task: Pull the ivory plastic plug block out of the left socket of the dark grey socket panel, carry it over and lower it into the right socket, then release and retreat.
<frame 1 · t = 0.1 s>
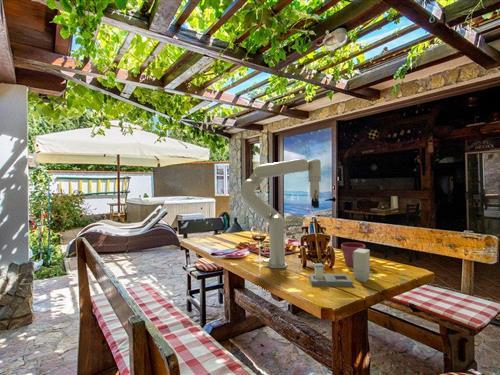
hand: (315, 207, 183), 37 cm above the table, tool pointing down, fingers open, 9 cm apart
plug: (319, 281, 154), point 1 cm above the table, touching socket panel
plant pot: (353, 265, 184), on the table
socket panel: (329, 283, 153), on the table
skincare box: (361, 279, 158), on the table
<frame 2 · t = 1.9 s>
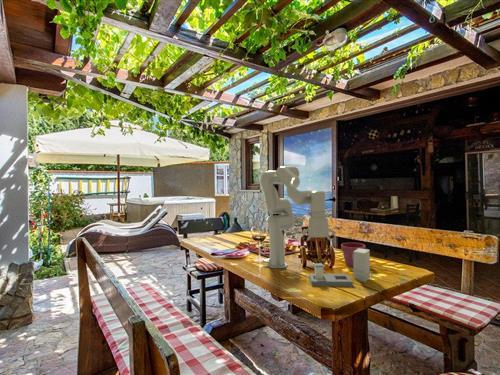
hand: (318, 247, 153), 18 cm above the table, tool pointing down, fingers open, 9 cm apart
nothing on the table moved.
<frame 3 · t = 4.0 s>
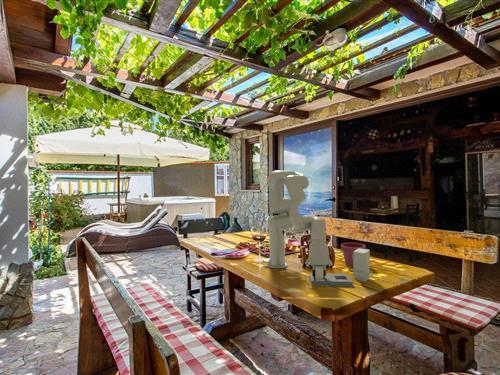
hand: (319, 276, 154), 3 cm above the table, tool pointing down, fingers closed on plug, 4 cm apart
plug: (319, 281, 154), point 1 cm above the table, touching gripper, socket panel
everything else where it was.
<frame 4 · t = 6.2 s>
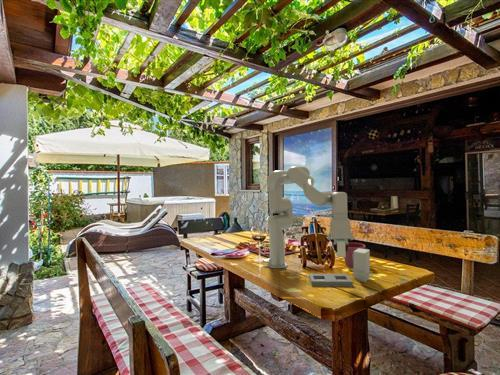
hand: (340, 251, 152), 17 cm above the table, tool pointing down, fingers closed on plug, 4 cm apart
plug: (340, 256, 152), point 14 cm above the table, touching gripper
everything else where it was.
when the fingers open (4 cm above the table, at t = 8.3 s): plug stays where it is, resting on socket panel.
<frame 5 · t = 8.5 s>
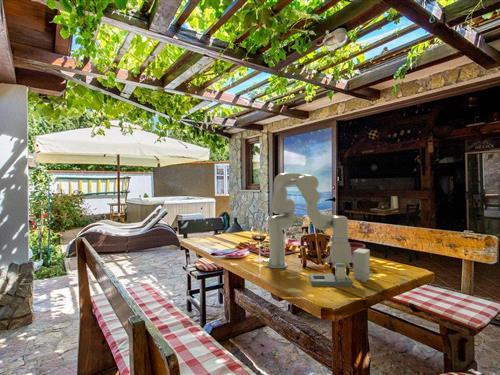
hand: (340, 274, 152), 5 cm above the table, tool pointing down, fingers open, 6 cm apart
plug: (340, 281, 153), point 1 cm above the table, touching socket panel
everything else where it was.
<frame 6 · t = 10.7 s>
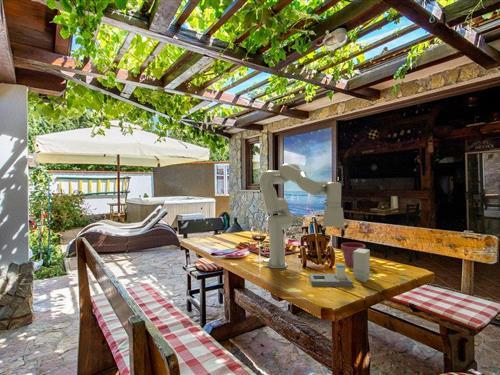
hand: (333, 236, 159), 23 cm above the table, tool pointing down, fingers open, 9 cm apart
nothing on the table moved.
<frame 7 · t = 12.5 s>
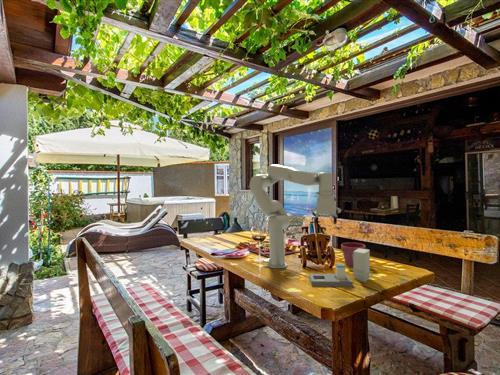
hand: (326, 224, 168), 28 cm above the table, tool pointing down, fingers open, 9 cm apart
nothing on the table moved.
at the end: plug 0.1 cm from the target spot on the socket panel, point 0.8 cm above the socket panel's base; plug tilted 0°; the gripper is holding nothing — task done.
